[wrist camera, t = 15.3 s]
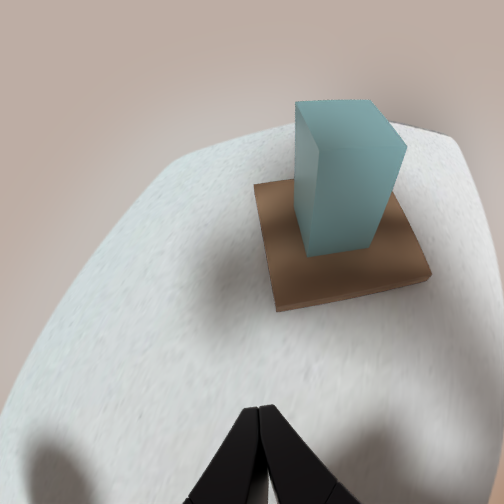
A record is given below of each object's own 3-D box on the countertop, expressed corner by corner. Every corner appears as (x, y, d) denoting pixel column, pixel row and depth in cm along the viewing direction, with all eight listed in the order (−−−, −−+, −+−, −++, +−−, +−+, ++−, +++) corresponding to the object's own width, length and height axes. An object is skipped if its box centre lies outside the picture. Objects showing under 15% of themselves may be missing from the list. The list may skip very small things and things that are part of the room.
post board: (426, 280, 23) (451, 251, 18) (276, 312, 23) (275, 285, 19) (377, 177, 30) (387, 143, 25) (254, 192, 30) (250, 155, 26)
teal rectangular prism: (368, 247, 24) (407, 146, 14) (307, 257, 24) (319, 150, 14) (349, 199, 27) (370, 99, 17) (293, 206, 27) (295, 101, 17)
